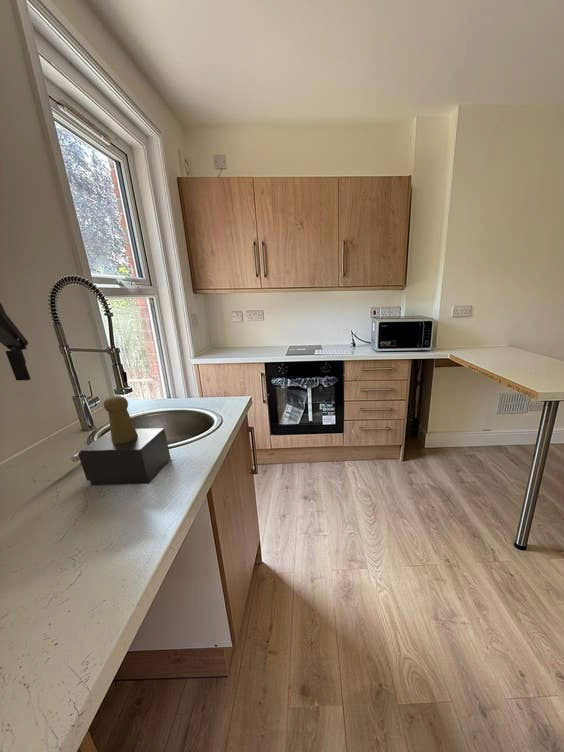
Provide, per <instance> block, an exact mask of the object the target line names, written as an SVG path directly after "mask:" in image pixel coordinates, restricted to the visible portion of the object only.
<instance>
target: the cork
mask: <svg viewBox="0 0 564 752" xmlns="http://www.w3.org/2000/svg"><path fill="white" fill-rule="evenodd" d="M128 407H129V402H128V400H127V398H126V397H123V396H121V395H120V396H111V397H108V398H106V399H104V401H103V408H104V410H105V411H106V412H107V413H108V421H109V429H110V430H111V438H112V442H113V443H118V444H119V443H127V442H130V441H133V440H135V439H137V438H138V434H137V432H136V430H135V429H136V427H135V425H134V422H133V420H132V418H131V416H130V413H129V411H128ZM110 430H109V431H110Z"/></svg>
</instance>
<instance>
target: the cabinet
mask: <svg viewBox="0 0 564 752" xmlns="http://www.w3.org/2000/svg"><path fill="white" fill-rule="evenodd" d="M135 430H136V432H137V434H138V438H137V439H135V440H133V441H130V442H127V443H119V444H118V443H113V442H112V438H111V430H108V431H107V432H106V433H104V434H103V435H101V436H99V437H98V438H97V439H95V440H94V441H92V442H91V443H89V444H88V445H86V446H85V447H83V448H82V449H81V450H79V452H81V455H82V458H83V461H84V464H85V467H86V470H87V474H88V477H89V480H90V481H89V482H90V485H91V486H111V485H113V486H114V485H120V486H121V485H149V484H151V483H152V481H153V480H154V479H155V478H156V477H157V476H158V474H160V472H161V471H162V470H163V469H164V468H165V467H166V465H167V464H168V463H169V462H170V461H171V460H172V457H171V453H170V447H169V443H168V439H167V435H166V430H165V428H164V427H155V428H151V427H149V428H135Z"/></svg>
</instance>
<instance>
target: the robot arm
mask: <svg viewBox="0 0 564 752" xmlns="http://www.w3.org/2000/svg"><path fill="white" fill-rule="evenodd" d="M0 344H1V345H3V346H4V348H7V349H8V350H5V354H6V357H7V359H8V362H9V366H10V368H11V371H12V373H13V376H14V379H15V381H31V376H30V373H29V371H28V367H27V365H26V364H27V360H26V357H25V355H24V353H23V351H24V350H26V349H27V346H28V345H29V341H28V340H27V339H26V337H25V336H24V335H23V333H22V332H21V331H20V330H19V328H18V327H17V326H16V324H15V323H14V322H13V320H12V319H11V318H10V317H9V316H8V314H7V313H6V311H5V308H4V306H3V304H2V303H1V302H0Z"/></svg>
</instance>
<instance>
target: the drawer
mask: <svg viewBox="0 0 564 752" xmlns="http://www.w3.org/2000/svg"><path fill="white" fill-rule="evenodd" d="M70 459H71V461H72V462H74V463H76V462H79V461H80V464H81V467H82V470H83V473H84V476H85V479H86V481H87V482H90V480H89V477H88V474H87V470H86V467H85V464H84V461H83V458H82V455H81V452H80V451H78V452H76V453H75V454H73V455H72V456H71V457H70Z"/></svg>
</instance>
